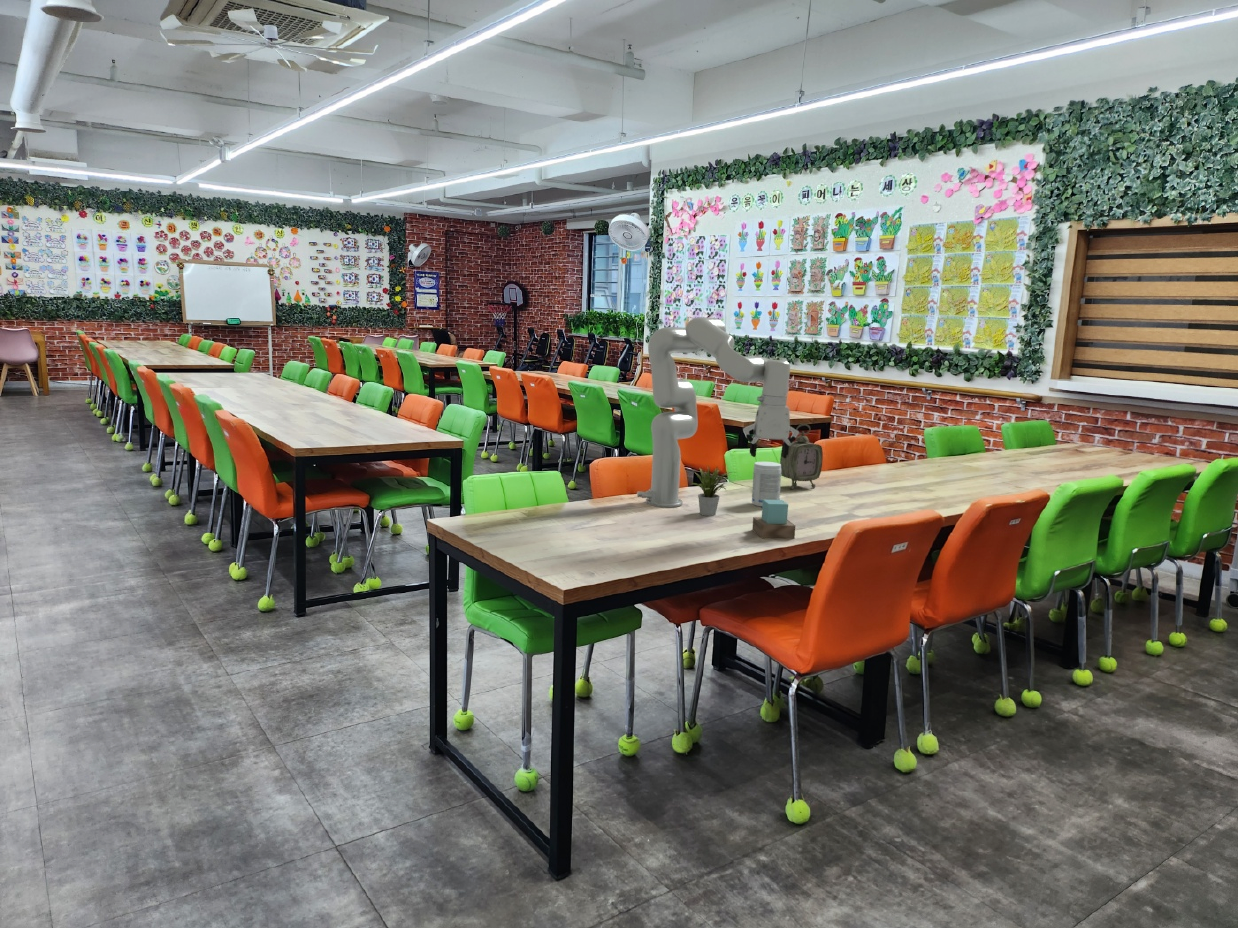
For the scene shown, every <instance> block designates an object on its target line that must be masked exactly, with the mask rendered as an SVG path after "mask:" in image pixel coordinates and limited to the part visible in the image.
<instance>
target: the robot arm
mask: <svg viewBox="0 0 1238 928" xmlns="http://www.w3.org/2000/svg"><path fill="white" fill-rule="evenodd" d="M734 347H735V339H734V337H733V336H732V335H731V334H729V333H728V332H727V329H726V325H725V323H724V322H723V321H722V320H721V319H719V318H715V317H705V316H700V317H699V316H698V317H694V318H692V319H690V320H689V321H688V322H687V324H686V326H685V327H682V326H680V327H679V326H665V327H660V328H659V329H657V330H655V331H654V332H653V334H652V335H651V337H650V339H649V341H648V346H647V349H648V350H647V351H648V353H647V354H648V359H649V362H650V363H649V364H650V370H651V385H652V395H653V396H652V397H653V401H654V404H655V405H656V406H657V407H659V408H661V409H671V408H674V409H673V410H674V411H664V412H661V413H658V414H657V415H655V416H654V417H653V418H652V421H651V424H650V428H651V429H650V430H651V437H652V463H651V464H652V465H651V481H650V483H651V485H650V488H649V489H648V490H646V491H637V492H636V496H637V498H642V499H645V503H646V504H647V505H649V506H653V507H661V508H676V507H680V506H683V502H684V501H683V499H681V498H679V492H680V490H679V489H680V476H681V475H680V473H681V459H682V458H681V457H682V456H681V448H680V445H679V443H678V440H683V439H690V438H692V437H693V436H694V435H695V434H696V432H697V431H698V427H699V426H698V425H699V423H698V422H699V421H698V419H699V418H698V407H697V404H698V403H697V395H696V390H695V388H694V385H693V384H692V383H691V382H690V381H688V380H686V379H681V378H680V379H678V374H677V373H678V372H677V365H676V363H675V359H674V358H673V357H672V355H671V354H673V353H675V354H676V353H678V354H682V353H683V354H690V353H694V352H698V351H700V350H704V351H705V352H706V353H708V354H709V355H711V356H712V357H713V358H715V361H716V363H717V366H718V367H719V368H720V369H721V371H723V372H724V373H725V374H727V375H728V376H730V377H731V378H733V379H734V380H736V381H738V382H742V383H753V382H755V383H756V382H757V383H759V382H760V383H762V393H761V395H760V396H757V397H756V401H757V402H760V404H758V407H757V409H756V414H755V420H754V423H752V424H750V425H747V426H744V427H743V428H742V431H743V433H744V435H745V438H746V439H747V440H748V441H749V444H750V445H749V454H750V456H751V457H753V458H755V457H757V456H756V455H757V447H758V445H757V442H758V441H759V440H760V439H763V440H779V441H780V440H782V441H783V443H782V445H781V450H782V452H781V451H780V457H781V456H782V457H783V458H786V457H787V455H788V451H789V445H791V443H792V442H795V441H796V439H797V437H798V436H799V433H800V431H799V430H796V429H797V428H796V429H795V428H794V427H792V426H791V424H790V423H791V421H790V420H791V419H790V418H791V415H790V407H789V406H787V401H788V391H789V382H790V374H791V373H790V372H791V364H790V362H788V361H787V360H781V359H771V358H768V357H764V356H763V357H761V356H744V355H742V354H740V353H739V352H738V351H736V350H735V349H734ZM752 430H753V435H752V436H751V434H750V431H752ZM790 432H791V433H792V434H791V435H790Z"/></svg>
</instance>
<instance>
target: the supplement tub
mask: <svg viewBox="0 0 1238 928" xmlns="http://www.w3.org/2000/svg"><path fill="white" fill-rule="evenodd" d="M753 464H754V465H753V473H752V475H753V476H752V490H751V491H752V493H751V494H752V495H751V502H752V504H753V505H754V506H757V507H760V508H761V507H762V505H763V500H781V499H780V497H781V484H782V483H781V481H782V474H781V464H780V462H772V461H755V462H754V463H753Z"/></svg>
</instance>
